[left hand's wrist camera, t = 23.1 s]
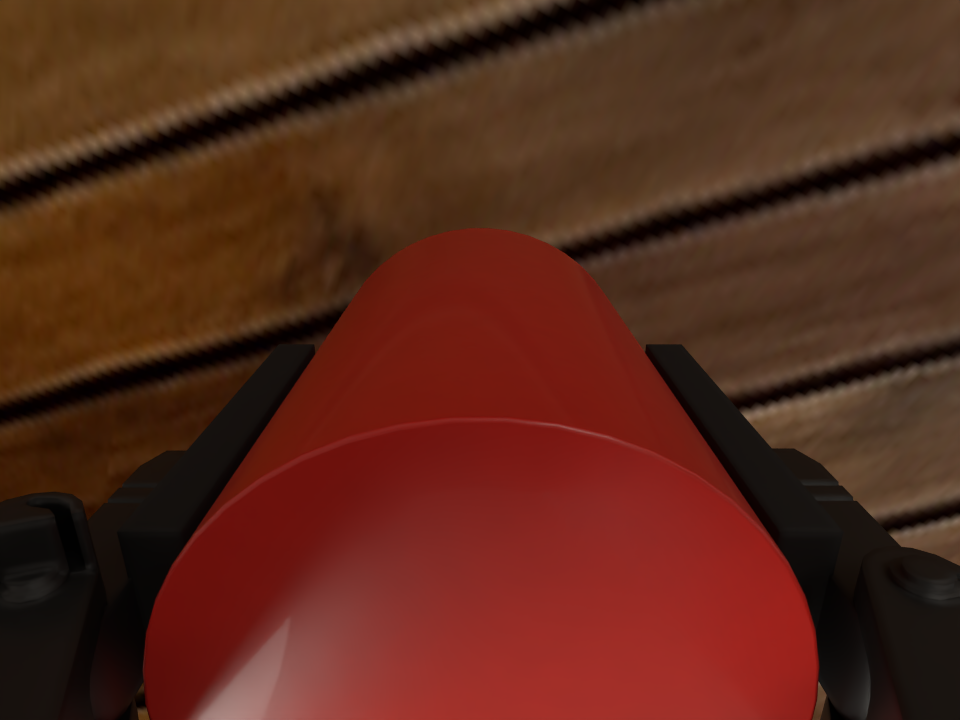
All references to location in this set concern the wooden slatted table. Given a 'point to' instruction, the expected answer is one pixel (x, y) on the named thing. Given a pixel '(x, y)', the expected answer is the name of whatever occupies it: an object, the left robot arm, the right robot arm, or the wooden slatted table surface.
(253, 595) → the cylinder
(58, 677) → the left robot arm
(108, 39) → the wooden slatted table surface
